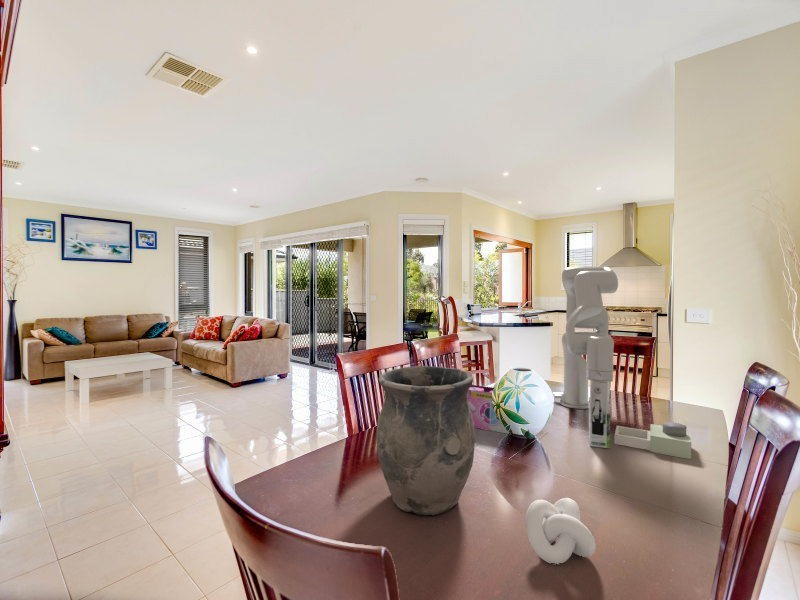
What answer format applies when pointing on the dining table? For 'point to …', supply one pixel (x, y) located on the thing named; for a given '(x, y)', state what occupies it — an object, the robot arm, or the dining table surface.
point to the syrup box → (605, 439)
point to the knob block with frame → (657, 439)
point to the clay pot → (425, 437)
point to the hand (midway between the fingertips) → (599, 430)
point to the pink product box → (483, 409)
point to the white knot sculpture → (558, 530)
